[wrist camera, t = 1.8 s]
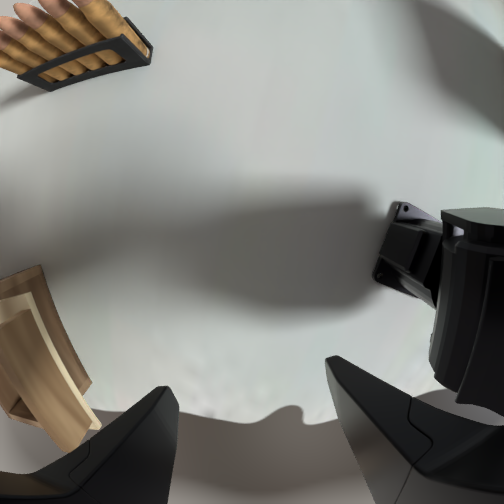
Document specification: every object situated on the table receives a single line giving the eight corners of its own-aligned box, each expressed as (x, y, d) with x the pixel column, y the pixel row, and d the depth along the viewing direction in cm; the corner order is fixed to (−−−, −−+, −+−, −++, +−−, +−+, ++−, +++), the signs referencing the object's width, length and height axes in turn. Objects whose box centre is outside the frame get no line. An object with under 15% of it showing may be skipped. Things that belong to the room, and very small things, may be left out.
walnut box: (40, 264, 20) (-20, 291, 12) (92, 382, 22) (57, 432, 14) (-3, 280, 20) (-50, 304, 12) (43, 380, 23) (9, 417, 15)
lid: (30, 291, 12) (-12, 316, 8) (101, 424, 15) (81, 462, 11) (-17, 305, 13) (-50, 324, 9) (41, 415, 15) (21, 442, 11)
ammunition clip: (49, 92, 16) (-43, 60, 4) (52, 75, 16) (-34, 38, 4) (150, 65, 16) (72, -22, 4) (153, 46, 16) (84, -43, 4)
